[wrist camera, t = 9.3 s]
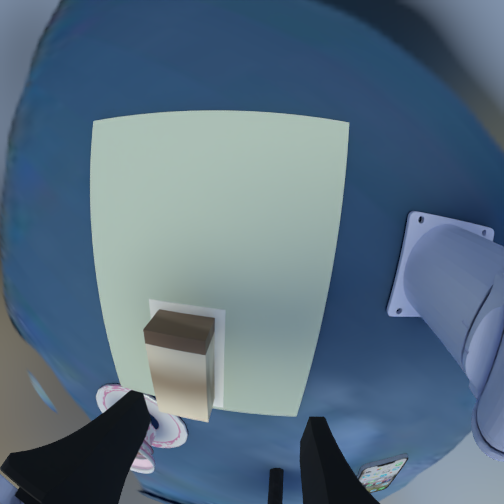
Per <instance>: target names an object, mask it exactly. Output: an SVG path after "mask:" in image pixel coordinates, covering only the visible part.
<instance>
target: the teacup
mask: <svg viewBox="0 0 504 504" xmlns="http://www.w3.org/2000/svg"><path fill="white" fill-rule="evenodd" d="M130 390H132V389H128V388H125V387H122V386H121V385H120V384H106V385H105V386H103V387H101V388H99V390H98V392H97V395H96V399H97V405H98V406H99V408H100V410H101V412H102V413H103V412H105V411H106V410H107V409H109V408H110V407H111V406H112V405H113V404H115V403H116V402H117V401H118V400H119V399H121V398H122V397H123V396H124V395H125V394H126V393H128V392H129V391H130ZM134 391H135V390H134ZM137 392H138V391H137ZM141 393H142V392H141ZM143 394H144V398H145V401H146V405H147V408H148V411H149V413H150V414H151V415H152V416H154V417H155V419H156V420H157V421H158V423H159V428H158V429H156V430H155V428H154V427H153V425H152V424H151V422H150V425H149V428H148V431H147V434H146V437H145V439H144V441H143V443H142V445H141V447H140V450H139V452H138V454H137V456H136V458H135V460H134V462H133V464H132V466H131V468H130V470H133V471H136V472H139V473H152V472H153V471H154V470H155V461H154V458H153V456H152V454H153V449H152V447H151V446H155V447H161V448H173V447H179V446H181V445H182V444H183V443H185V442H186V439H187V436H188V431H187V428H186V425H185V424H184V422H183V421H182V420H181V419H180V417H179V416H176V415H171V414H167V413H163V412H159V409H158V405H157V400H156V399H155V398H154V397H152V396H150V395H149V394H146V393H143Z"/></svg>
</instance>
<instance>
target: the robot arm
mask: <svg viewBox="0 0 504 504" xmlns="http://www.w3.org/2000/svg"><path fill="white" fill-rule="evenodd" d="M420 216H421V217H422V220H421V222H419V221H418V219H419V217H420ZM482 232H483V234H482ZM493 237H494V230H493V229H492V228H489V227H486V226H482V225H478V224H473V223H469V222H465V221H461V220H456V219H452V218H447V217H443V216H438V215H433V214H428V213H423V212H418V211H411V212H410V213H409V214H408V218H407V224H406V230H405V235H404V240H403V245H402V250H401V255H400V260H399V264H398V268H397V272H396V276H395V280H394V284H393V288H392V292H391V295H390V299H389V302H388V306H387V310H386V311H387V313H388V315H389V316H392V317H422V319H423V320H424V321H425V322H426V323H427V325H428V326H429V327H430V328H431V329H432V331H433V332H434V333H435V334H436V336H437V337H438V338H439V339H440V341H441V342H442V343H443V344H444V346H445V347H446V348H447V350H448V351H449V352H450V354H451V355H452V356H453V358H454V359H455V360H456V362H457V363H458V364H459V366H460V367H461V368H462V370H463V371H464V372H465V374H466V375H467V377H468V378H469V379H470V384H469V389H470V390H471V392H472V393H473V395H474V396H475V398H476V399H477V401H476V403H475V406H474V408H473V412H472V418H471V427H472V433H473V437H474V439H475V441H476V443H477V445H478V446H479V448H480V449H481V450H482V451H483V452H484V453H485V454H486V455H487V456H489V457H491V458H492V459H495V460H498V461H503V462H504V247H503V246H501V245H499V244H497V243H495V242H493ZM399 308H400V310H399V311H398V312H396V311H397V309H399ZM150 422H151V417H150V414H149V411H148V408H147V405H146V401H145V398H144V394H143V393H141V392H137V391H134V390H130V391H129V392H128V393H126V394H125V395H124V396H123V397H122V398H121V399H119V400H118V401H117V402H116V403H115V404H113V405H112V406H111V407H110V408H109V409H107V410H106V411H105V412H103V413H102V414H101V415H100V416H98V417H97V418H96V419H94V420H93V421H91V422H90V423H88V424H87V425H86V426H84V427H82V428H81V429H79V430H78V431H76V432H74V433H72V434H71V435H69V436H67V437H65V438H62V439H60V440H58V441H56V442H53V443H51V444H48V445H45V446H42V447H39V448H35V449H32V450H27V451H21V452H16V453H10V455H9V456H8V457H7V459H6V460H5V462H4V463H3V464H2V466H1V467H0V469H1V471H2V472H3V473H4V474H6V475H7V476H8V477H9V478H10V479H11V480H12V481H13V482H15V483H16V484H17V485H18V486H19V489H17V488H16V487H15V486H13V485H12V484H11V483H10V482H9V481H7V480H6V479H5V478H4V477H3V476H2V475H1V474H0V504H118V503H119V499H120V495H121V492H122V488H123V486H124V482H125V479H126V477H127V474H128V472H129V470H130V468H131V466H132V464H133V462H134V460H135V458H136V456H137V454H138V452H139V450H140V447H141V445H142V443H143V441H144V439H145V437H146V434H147V431H148V428H149V425H150ZM300 469H301V481H302V492H303V504H380V503H379V502H378V501H377V500H376V499H375V498H374V497H373V496H372V495H371V494H370V493H369V492H368V490H367V489H366V488H365V487H364V486H363V484H362V483H361V482H360V481H359V479H358V478H357V476H356V475H355V474H354V472H353V471H352V469H351V468H350V466H349V464H348V463H347V461H346V460H345V458H344V456H343V454H342V452H341V451H340V449H339V447H338V445H337V443H336V441H335V439H334V437H333V435H332V433H331V431H330V428H329V426H328V424H327V421H326V418H325V417H309V420H308V422H307V425H306V428H305V431H304V433H303V436H302V438H301V441H300Z"/></svg>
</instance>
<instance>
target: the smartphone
mask: <svg viewBox="0 0 504 504" xmlns="http://www.w3.org/2000/svg"><path fill="white" fill-rule="evenodd" d="M407 460H408V456H407V454H402V455H398V456H395V457H391V458H387V459H384V460H380V461H376V462H371V463H367V464H365V465H363V466H362V467H361V468H360V471H359V473H358V476H357V478H358V479H359V481H360V482H361V483H362V484H363V486H364V487H365V488H366V489H367V490H368V492H369V493H372V492H376V491H380V490H383V489H386V488H387V487H388V486H389V485H390V484H391V482H392V481H393V480H394V478H395V477H396V476H397V474H398V473H399V471H400V470H401V469H402V467H403V466H404V464H405V463H406V461H407Z"/></svg>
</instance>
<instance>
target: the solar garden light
mask: <svg viewBox="0 0 504 504" xmlns="http://www.w3.org/2000/svg"><path fill="white" fill-rule="evenodd" d="M282 496H283V469H280V468H273V469H270V477H269V492H268V504H282Z"/></svg>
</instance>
